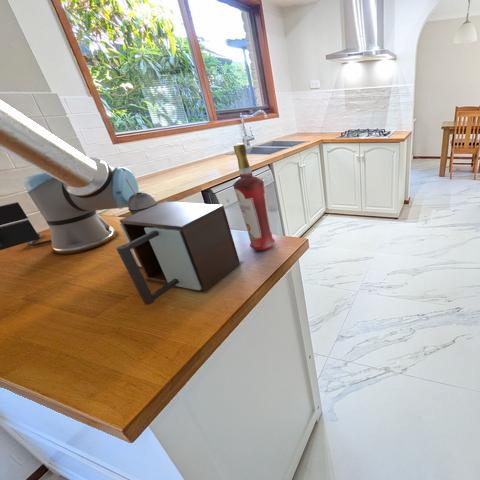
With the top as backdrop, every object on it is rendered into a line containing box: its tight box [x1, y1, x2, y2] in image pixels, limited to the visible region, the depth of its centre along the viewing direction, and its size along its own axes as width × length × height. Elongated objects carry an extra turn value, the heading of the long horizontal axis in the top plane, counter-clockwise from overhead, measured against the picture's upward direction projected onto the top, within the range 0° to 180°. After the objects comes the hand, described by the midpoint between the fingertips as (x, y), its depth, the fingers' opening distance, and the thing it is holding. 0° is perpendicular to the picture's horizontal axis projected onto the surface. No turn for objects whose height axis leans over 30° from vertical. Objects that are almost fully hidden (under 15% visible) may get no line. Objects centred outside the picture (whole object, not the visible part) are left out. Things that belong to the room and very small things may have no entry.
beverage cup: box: [125, 179, 158, 215], centre depth 85 cm, size 7×7×20 cm
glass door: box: [116, 227, 202, 306], centre depth 59 cm, size 9×8×14 cm
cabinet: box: [119, 200, 241, 292], centre depth 69 cm, size 18×12×16 cm, turn 71°
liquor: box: [232, 142, 276, 252], centre depth 75 cm, size 7×7×28 cm
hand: (28, 218), depth 43 cm, fingers open, 13 cm apart
